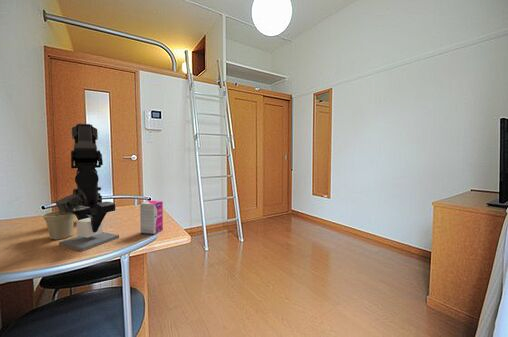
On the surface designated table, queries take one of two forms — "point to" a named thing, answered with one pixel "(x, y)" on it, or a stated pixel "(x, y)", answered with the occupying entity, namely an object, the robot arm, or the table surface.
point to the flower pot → (59, 224)
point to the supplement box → (151, 217)
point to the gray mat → (88, 241)
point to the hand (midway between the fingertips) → (89, 231)
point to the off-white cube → (86, 228)
